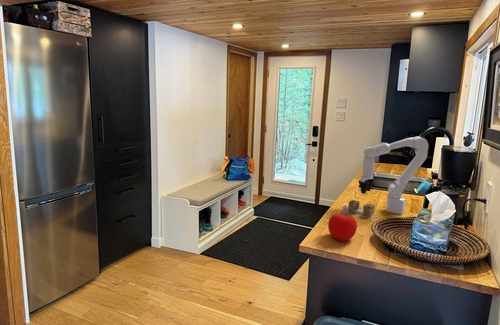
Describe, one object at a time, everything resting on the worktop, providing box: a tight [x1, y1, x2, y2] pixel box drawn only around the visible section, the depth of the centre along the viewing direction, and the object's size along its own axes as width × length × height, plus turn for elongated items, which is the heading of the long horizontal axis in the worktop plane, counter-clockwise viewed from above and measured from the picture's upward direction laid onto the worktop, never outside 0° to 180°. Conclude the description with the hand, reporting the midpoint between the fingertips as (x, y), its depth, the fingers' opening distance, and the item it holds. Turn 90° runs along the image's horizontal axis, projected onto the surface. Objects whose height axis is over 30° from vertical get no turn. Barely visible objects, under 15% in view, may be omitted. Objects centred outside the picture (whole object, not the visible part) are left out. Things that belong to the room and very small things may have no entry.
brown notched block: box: [347, 199, 360, 215], centre depth 181 cm, size 4×5×6 cm
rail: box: [340, 204, 376, 220], centre depth 180 cm, size 16×7×3 cm, turn 52°
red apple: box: [327, 212, 358, 242], centre depth 147 cm, size 12×14×12 cm
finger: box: [362, 202, 375, 219], centre depth 177 cm, size 4×5×6 cm
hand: (365, 192), depth 189 cm, fingers open, 7 cm apart
